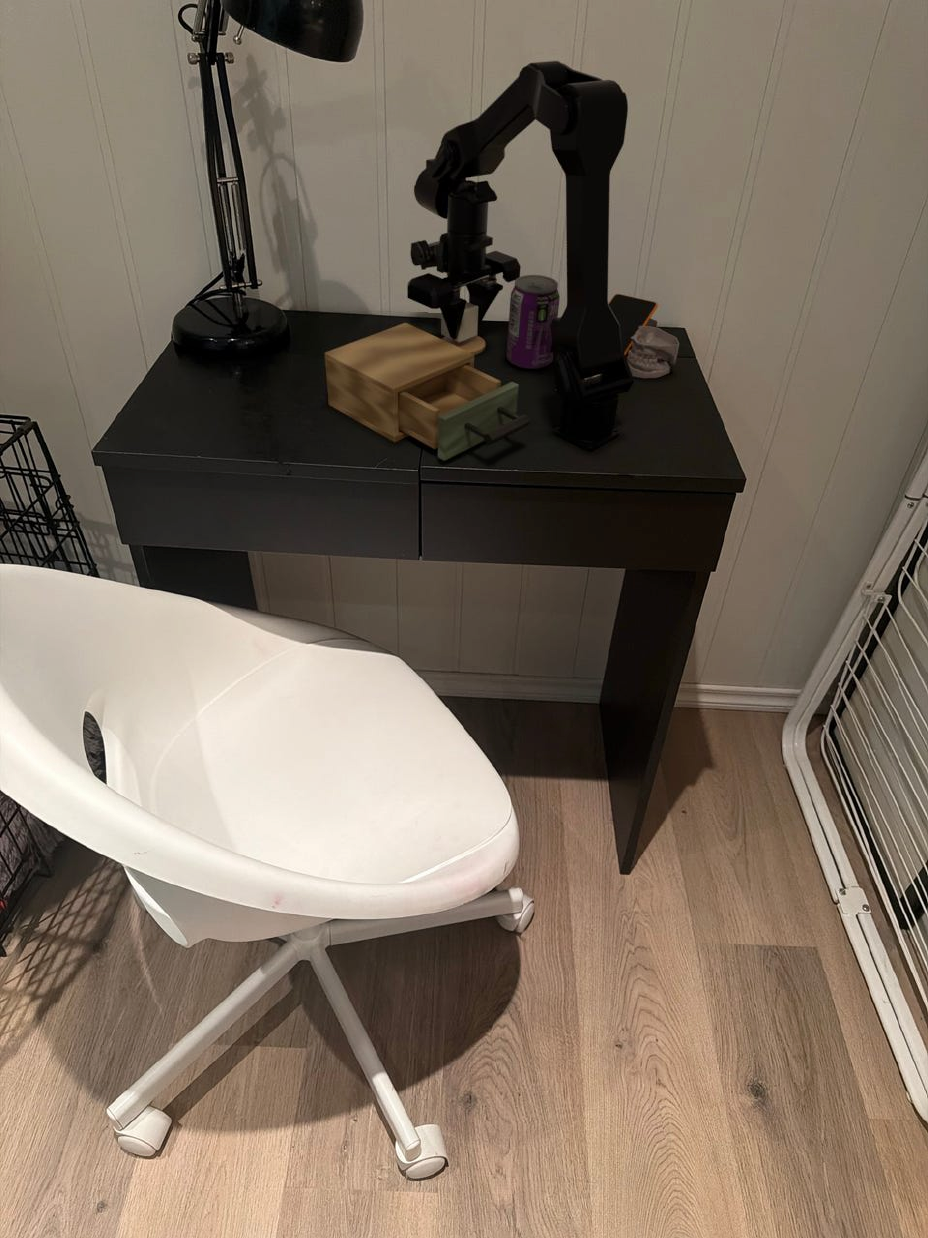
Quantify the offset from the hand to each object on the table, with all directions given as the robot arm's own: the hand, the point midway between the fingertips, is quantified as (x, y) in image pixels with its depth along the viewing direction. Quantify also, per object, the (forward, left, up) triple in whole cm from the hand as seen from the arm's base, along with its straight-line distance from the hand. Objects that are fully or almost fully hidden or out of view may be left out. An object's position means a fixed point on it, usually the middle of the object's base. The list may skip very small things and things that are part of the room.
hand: (463, 334), depth 130 cm
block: (+1, 0, 0) cm, 1 cm away
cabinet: (-7, +20, -2) cm, 21 cm away
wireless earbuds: (-17, -22, -2) cm, 28 cm away
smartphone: (-16, -23, +1) cm, 28 cm away
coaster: (0, 0, -2) cm, 2 cm away
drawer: (-19, +20, -1) cm, 28 cm away
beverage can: (-11, -4, -2) cm, 11 cm away
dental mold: (-24, -15, +3) cm, 29 cm away
